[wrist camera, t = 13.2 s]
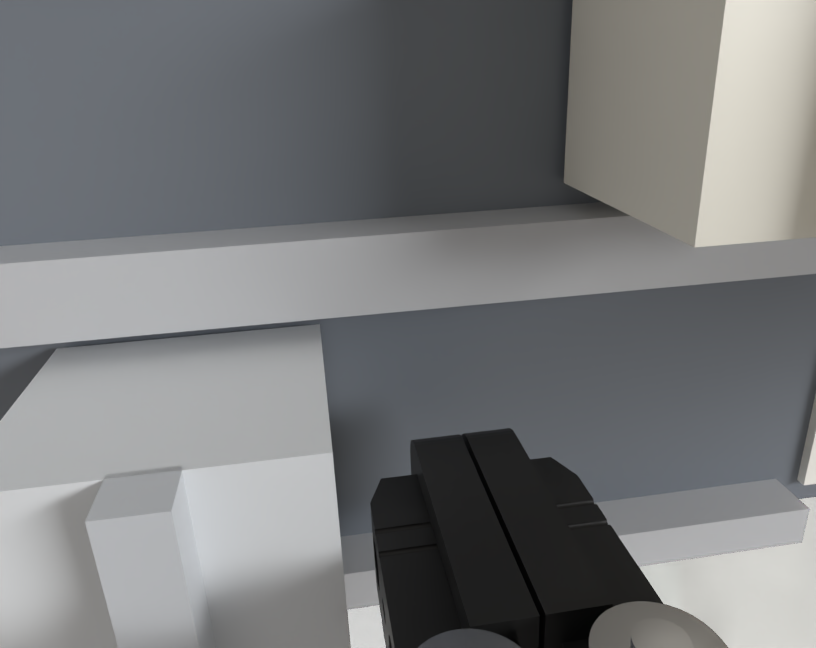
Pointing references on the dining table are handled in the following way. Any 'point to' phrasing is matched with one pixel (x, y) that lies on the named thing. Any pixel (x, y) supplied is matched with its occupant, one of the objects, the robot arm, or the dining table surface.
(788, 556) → the dining table surface
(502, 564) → the robot arm
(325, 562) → the white block with rib
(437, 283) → the switch panel
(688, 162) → the cream tab
